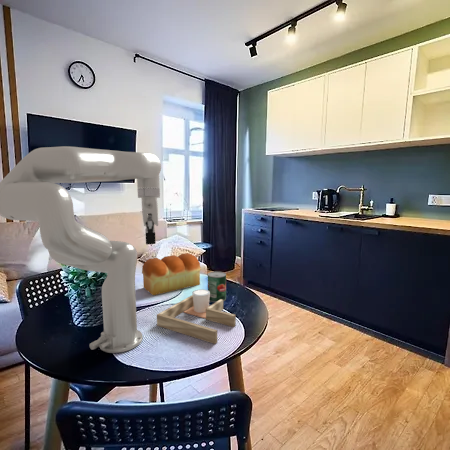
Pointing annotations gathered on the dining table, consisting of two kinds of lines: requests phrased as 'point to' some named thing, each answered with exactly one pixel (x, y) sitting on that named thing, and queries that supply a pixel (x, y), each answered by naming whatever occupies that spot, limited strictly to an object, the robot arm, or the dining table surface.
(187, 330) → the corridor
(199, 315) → the pad
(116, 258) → the robot arm
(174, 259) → the bread
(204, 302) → the shot glass
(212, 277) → the canned tomato
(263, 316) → the dining table surface
